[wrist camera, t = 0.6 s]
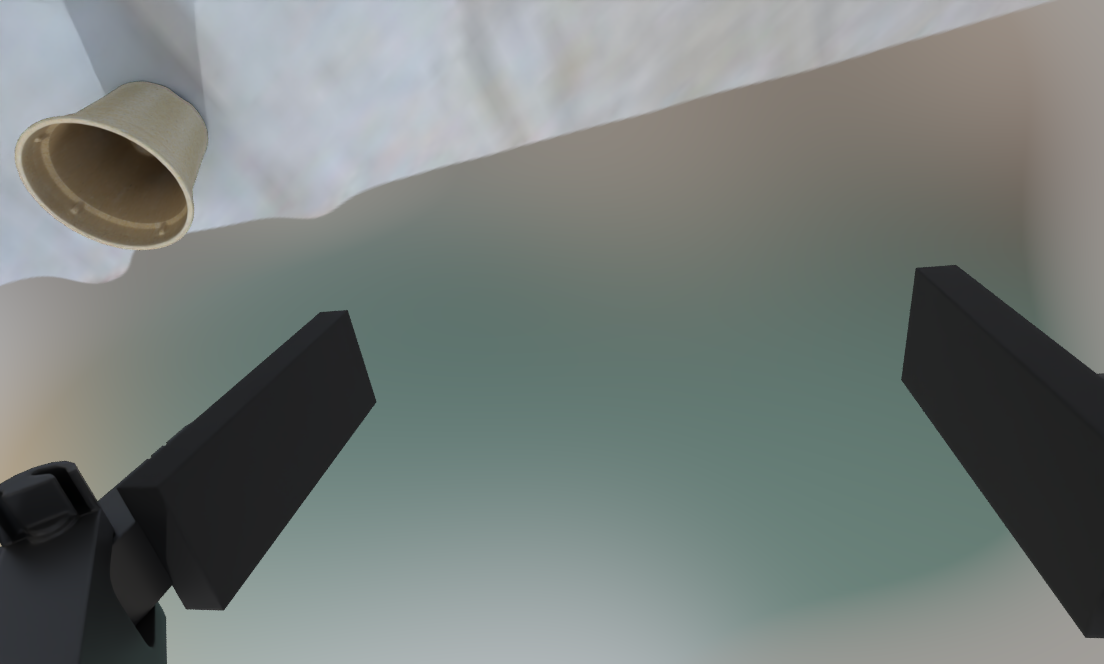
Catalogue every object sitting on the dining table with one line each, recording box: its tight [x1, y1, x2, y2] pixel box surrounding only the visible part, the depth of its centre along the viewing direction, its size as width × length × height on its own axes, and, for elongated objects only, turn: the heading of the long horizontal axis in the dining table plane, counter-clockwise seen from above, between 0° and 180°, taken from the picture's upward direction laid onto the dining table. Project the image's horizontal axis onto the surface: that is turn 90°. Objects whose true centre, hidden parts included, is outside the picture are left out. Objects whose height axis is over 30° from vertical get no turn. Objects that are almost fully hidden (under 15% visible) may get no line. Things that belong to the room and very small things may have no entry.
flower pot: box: [15, 81, 208, 250], centre depth 40 cm, size 9×9×9 cm
